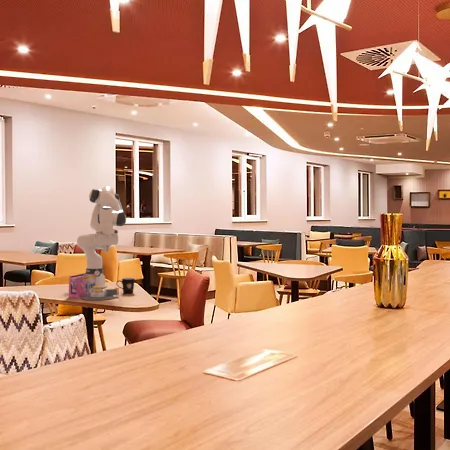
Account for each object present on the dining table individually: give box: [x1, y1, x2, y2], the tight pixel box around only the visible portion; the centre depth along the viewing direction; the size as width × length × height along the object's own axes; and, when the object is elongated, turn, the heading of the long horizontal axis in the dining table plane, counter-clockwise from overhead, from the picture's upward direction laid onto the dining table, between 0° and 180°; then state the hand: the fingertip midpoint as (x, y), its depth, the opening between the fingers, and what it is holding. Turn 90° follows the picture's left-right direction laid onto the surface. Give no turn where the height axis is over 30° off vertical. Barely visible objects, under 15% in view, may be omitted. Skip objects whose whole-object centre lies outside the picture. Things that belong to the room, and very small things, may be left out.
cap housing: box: [80, 286, 115, 302], centre depth 361 cm, size 20×20×8 cm
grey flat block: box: [88, 286, 120, 298], centre depth 363 cm, size 20×11×5 cm, turn 123°
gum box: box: [68, 272, 96, 299], centre depth 371 cm, size 24×8×14 cm, turn 166°
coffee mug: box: [116, 277, 135, 295], centre depth 384 cm, size 12×9×10 cm
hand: (106, 252), depth 371 cm, fingers closed
